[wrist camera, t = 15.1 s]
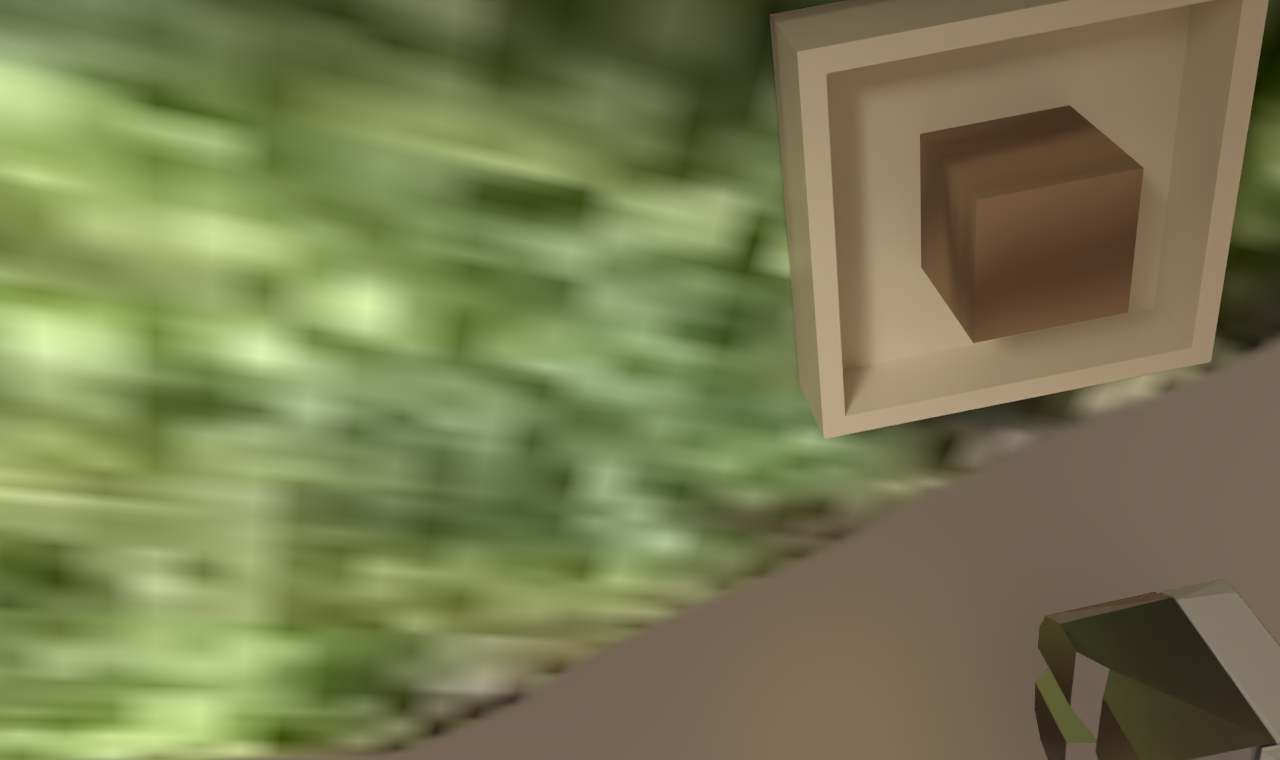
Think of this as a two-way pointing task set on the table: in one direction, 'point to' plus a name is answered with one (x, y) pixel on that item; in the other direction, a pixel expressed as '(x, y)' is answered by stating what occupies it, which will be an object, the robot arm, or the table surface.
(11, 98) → the table surface
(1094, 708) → the robot arm
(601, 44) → the table surface
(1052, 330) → the cream bin
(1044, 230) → the walnut block
